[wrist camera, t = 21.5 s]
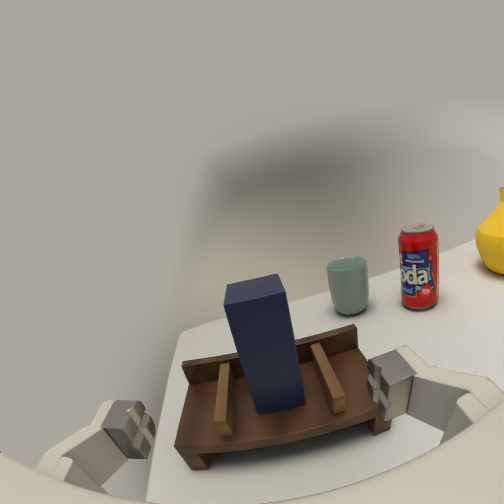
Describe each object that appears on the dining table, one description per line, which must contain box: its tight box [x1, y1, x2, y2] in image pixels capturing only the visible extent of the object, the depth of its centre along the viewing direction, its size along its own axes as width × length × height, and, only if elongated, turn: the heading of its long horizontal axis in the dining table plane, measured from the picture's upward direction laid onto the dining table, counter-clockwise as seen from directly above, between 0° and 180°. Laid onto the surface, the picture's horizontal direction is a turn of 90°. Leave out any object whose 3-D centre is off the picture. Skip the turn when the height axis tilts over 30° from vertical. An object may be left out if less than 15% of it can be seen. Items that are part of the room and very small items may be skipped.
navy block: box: [224, 274, 306, 415], centre depth 25 cm, size 5×5×13 cm
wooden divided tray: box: [174, 324, 392, 470], centre depth 27 cm, size 22×12×8 cm, turn 92°
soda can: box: [398, 223, 439, 309], centre depth 43 cm, size 8×8×15 cm
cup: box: [327, 256, 369, 315], centre depth 50 cm, size 8×8×10 cm
